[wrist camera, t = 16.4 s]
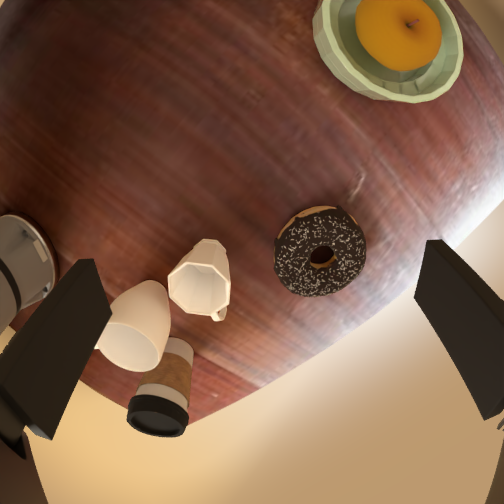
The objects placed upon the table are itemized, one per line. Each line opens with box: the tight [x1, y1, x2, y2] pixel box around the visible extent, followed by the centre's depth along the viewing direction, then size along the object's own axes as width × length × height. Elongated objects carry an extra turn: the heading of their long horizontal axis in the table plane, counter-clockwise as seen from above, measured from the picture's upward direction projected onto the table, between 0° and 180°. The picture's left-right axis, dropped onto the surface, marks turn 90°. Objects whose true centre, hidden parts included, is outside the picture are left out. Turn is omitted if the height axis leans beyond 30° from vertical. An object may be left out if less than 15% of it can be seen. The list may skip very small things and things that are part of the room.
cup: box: [168, 239, 231, 321], centre depth 35 cm, size 7×10×8 cm
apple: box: [355, 0, 442, 72], centre depth 21 cm, size 9×9×9 cm
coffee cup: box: [127, 337, 194, 437], centre depth 40 cm, size 8×8×15 cm
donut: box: [274, 205, 366, 297], centre depth 36 cm, size 11×12×4 cm
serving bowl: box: [312, 0, 463, 103], centre depth 22 cm, size 15×15×6 cm
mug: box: [94, 280, 171, 372], centre depth 37 cm, size 12×8×11 cm
